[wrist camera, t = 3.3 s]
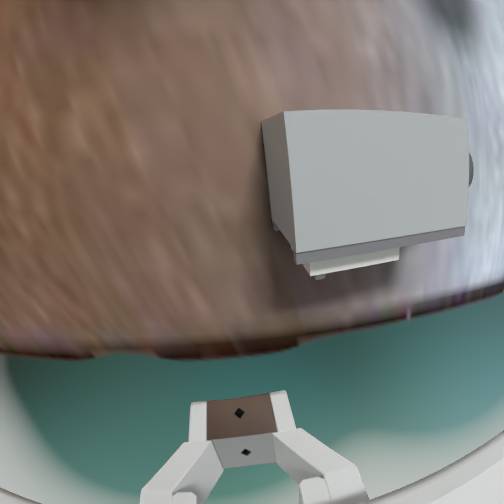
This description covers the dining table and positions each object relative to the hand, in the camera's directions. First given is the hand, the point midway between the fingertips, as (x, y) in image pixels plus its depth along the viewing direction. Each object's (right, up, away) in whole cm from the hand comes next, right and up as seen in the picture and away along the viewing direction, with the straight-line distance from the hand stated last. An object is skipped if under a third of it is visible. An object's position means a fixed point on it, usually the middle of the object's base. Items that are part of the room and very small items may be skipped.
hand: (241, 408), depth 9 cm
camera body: (+7, +11, +12) cm, 18 cm away
